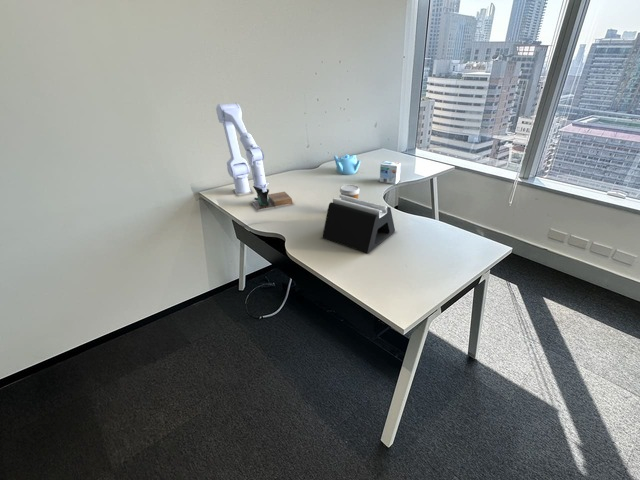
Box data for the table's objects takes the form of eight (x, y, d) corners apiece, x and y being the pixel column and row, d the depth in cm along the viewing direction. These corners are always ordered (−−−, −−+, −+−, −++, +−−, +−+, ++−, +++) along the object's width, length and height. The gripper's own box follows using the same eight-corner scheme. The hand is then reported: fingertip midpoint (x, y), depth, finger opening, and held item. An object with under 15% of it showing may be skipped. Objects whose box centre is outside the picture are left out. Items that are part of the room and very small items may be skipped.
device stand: (367, 253, 128) (368, 218, 120) (322, 238, 138) (320, 205, 129) (394, 231, 144) (397, 199, 135) (352, 219, 154) (352, 188, 145)
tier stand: (251, 203, 167) (250, 197, 165) (285, 197, 175) (284, 191, 173) (257, 211, 159) (255, 205, 157) (292, 204, 167) (291, 198, 165)
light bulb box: (379, 181, 197) (380, 163, 191) (383, 178, 202) (383, 160, 196) (396, 184, 194) (397, 166, 188) (399, 180, 199) (400, 163, 193)
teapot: (361, 175, 207) (361, 157, 201) (337, 176, 204) (337, 158, 198) (356, 167, 219) (356, 151, 213) (334, 168, 216) (333, 152, 210)
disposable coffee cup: (362, 209, 164) (362, 185, 157) (355, 216, 156) (355, 192, 149) (344, 206, 166) (344, 183, 159) (337, 213, 159) (336, 189, 152)
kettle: (267, 201, 168) (265, 191, 165) (269, 204, 164) (268, 194, 161) (254, 203, 165) (252, 193, 162) (256, 206, 162) (254, 196, 159)
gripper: (271, 177, 153) (275, 204, 161) (262, 169, 163) (267, 195, 171) (255, 179, 150) (261, 207, 158) (248, 171, 160) (253, 197, 168)
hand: (263, 201), depth 164 cm, fingers closed on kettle, 5 cm apart
